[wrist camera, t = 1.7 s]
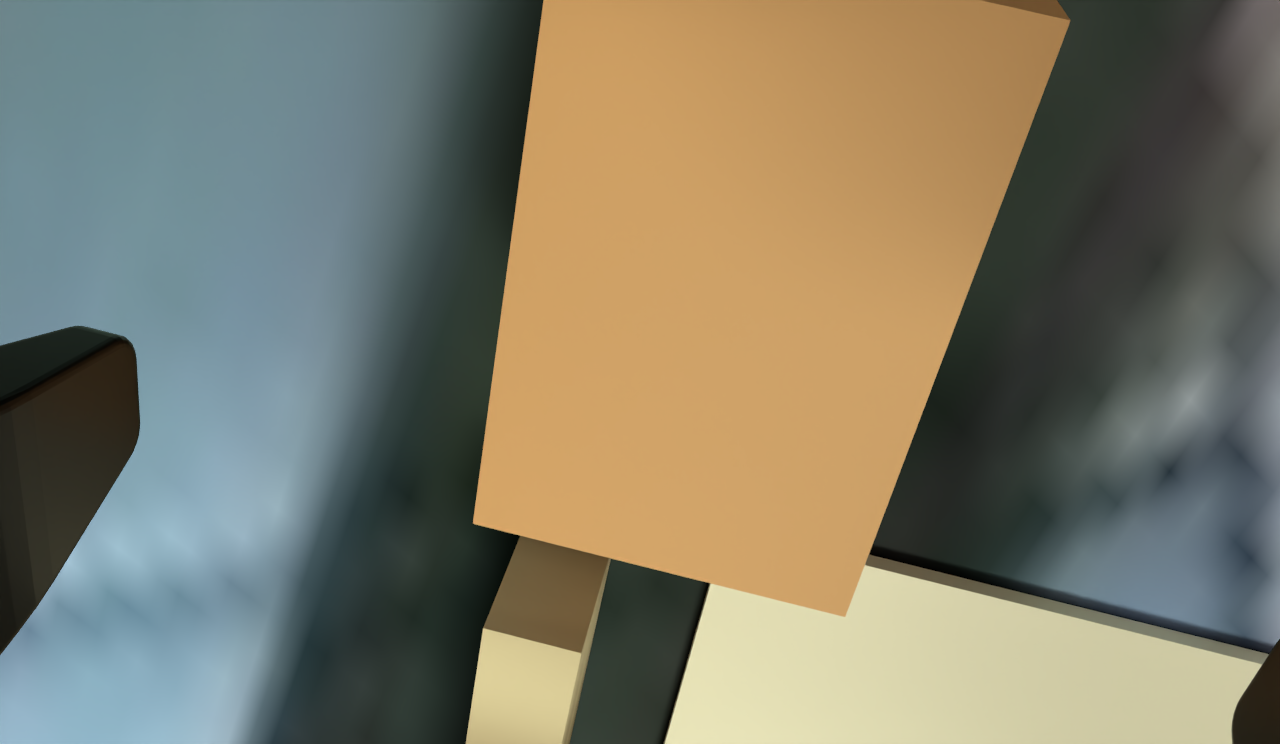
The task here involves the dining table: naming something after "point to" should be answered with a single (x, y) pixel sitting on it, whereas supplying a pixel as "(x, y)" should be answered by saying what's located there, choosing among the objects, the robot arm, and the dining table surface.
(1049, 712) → the pad
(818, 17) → the orange bar
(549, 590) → the arena
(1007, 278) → the dining table surface
